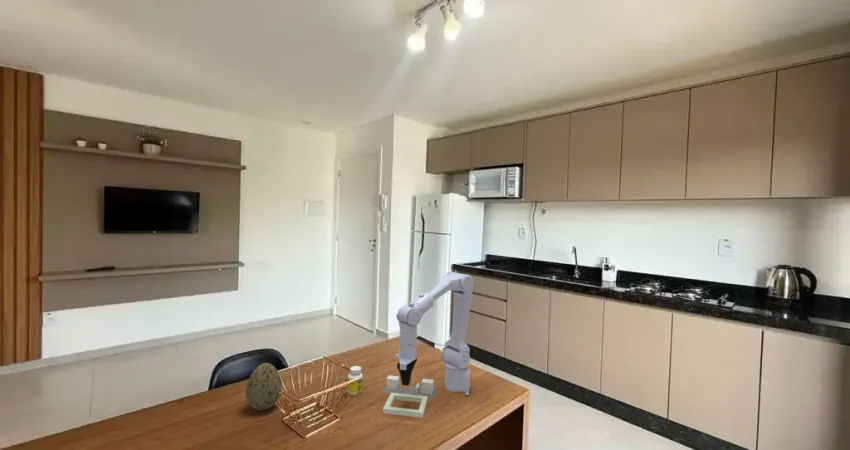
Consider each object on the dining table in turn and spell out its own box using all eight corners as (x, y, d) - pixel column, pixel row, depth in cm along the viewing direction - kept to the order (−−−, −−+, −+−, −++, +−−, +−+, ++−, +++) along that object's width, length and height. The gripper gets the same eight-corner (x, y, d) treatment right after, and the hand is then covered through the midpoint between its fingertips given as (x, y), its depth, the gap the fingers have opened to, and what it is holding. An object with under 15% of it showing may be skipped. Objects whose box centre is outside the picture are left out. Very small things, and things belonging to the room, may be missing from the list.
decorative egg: (285, 410, 121) (286, 365, 121) (249, 420, 115) (250, 373, 114) (276, 397, 130) (277, 354, 130) (242, 406, 123) (243, 361, 123)
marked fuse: (413, 385, 125) (413, 367, 125) (411, 389, 122) (411, 371, 122) (401, 384, 126) (402, 366, 126) (399, 388, 123) (400, 370, 123)
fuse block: (436, 390, 139) (437, 377, 139) (434, 400, 131) (434, 386, 131) (387, 385, 142) (387, 372, 142) (381, 395, 134) (382, 381, 134)
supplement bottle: (359, 399, 130) (359, 372, 130) (344, 397, 131) (345, 370, 131) (364, 392, 135) (365, 366, 135) (350, 390, 136) (351, 364, 136)
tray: (427, 403, 129) (427, 396, 129) (422, 420, 118) (422, 413, 118) (390, 399, 131) (391, 392, 131) (382, 416, 120) (382, 408, 120)
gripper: (400, 334, 132) (399, 372, 132) (391, 348, 117) (389, 391, 118) (420, 336, 130) (419, 374, 131) (412, 350, 116) (411, 393, 116)
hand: (406, 382), depth 124 cm, fingers closed on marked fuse, 3 cm apart
